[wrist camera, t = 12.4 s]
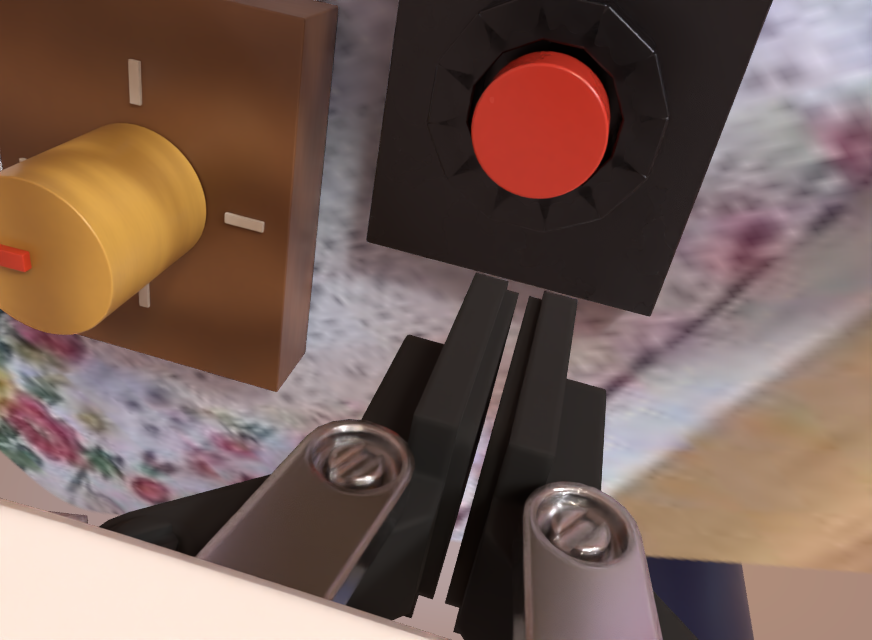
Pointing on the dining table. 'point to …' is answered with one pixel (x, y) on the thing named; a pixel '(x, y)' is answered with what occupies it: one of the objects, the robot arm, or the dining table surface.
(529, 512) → the robot arm
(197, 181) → the dial knob
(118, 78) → the knob panel
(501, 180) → the red button
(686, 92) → the button box
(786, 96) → the dining table surface
